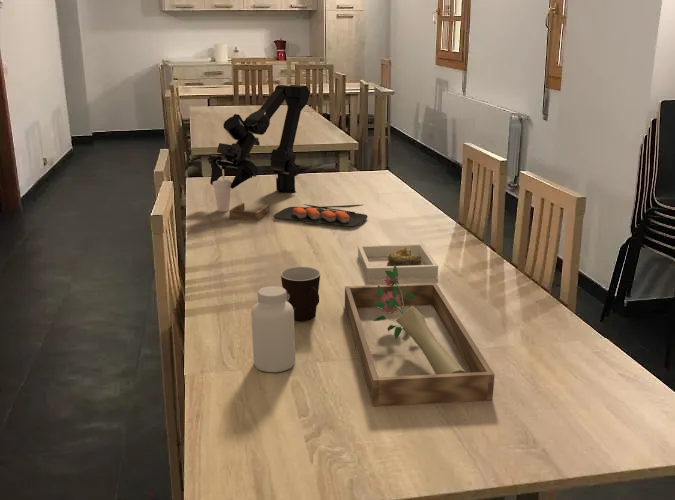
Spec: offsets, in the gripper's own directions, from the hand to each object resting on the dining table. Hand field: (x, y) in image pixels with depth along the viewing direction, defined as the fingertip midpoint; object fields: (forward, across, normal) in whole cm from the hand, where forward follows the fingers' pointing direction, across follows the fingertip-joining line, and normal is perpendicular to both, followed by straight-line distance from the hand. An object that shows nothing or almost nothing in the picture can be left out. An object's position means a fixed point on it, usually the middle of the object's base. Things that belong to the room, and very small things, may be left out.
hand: (221, 186), depth 236 cm
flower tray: (+43, +102, -31) cm, 115 cm away
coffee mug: (+44, +76, -32) cm, 94 cm away
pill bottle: (+58, +84, -46) cm, 112 cm away
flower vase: (+44, +104, -31) cm, 117 cm away
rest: (+6, +12, +6) cm, 15 cm away
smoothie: (+6, 0, +6) cm, 9 cm away
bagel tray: (+15, +76, -3) cm, 77 cm away
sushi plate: (-6, +32, +19) cm, 37 cm away
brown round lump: (+14, +77, -2) cm, 78 cm away
